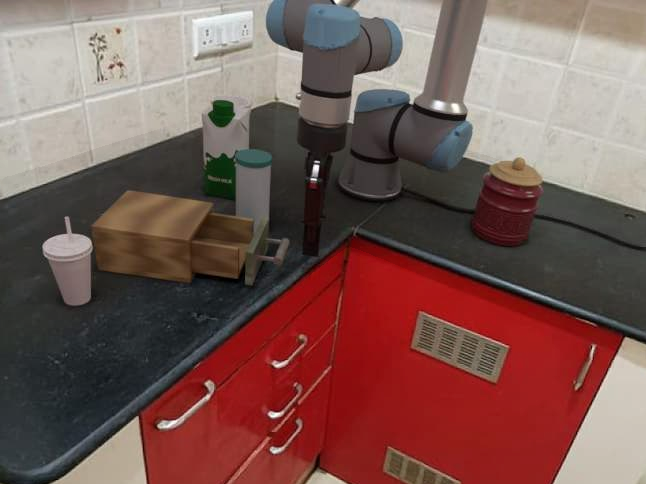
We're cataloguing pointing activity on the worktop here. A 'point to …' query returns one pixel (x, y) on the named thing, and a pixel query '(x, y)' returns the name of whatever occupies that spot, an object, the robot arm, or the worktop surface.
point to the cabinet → (149, 235)
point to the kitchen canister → (507, 203)
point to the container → (253, 184)
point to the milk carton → (223, 146)
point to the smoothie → (71, 265)
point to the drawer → (233, 247)
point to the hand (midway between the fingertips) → (310, 253)
